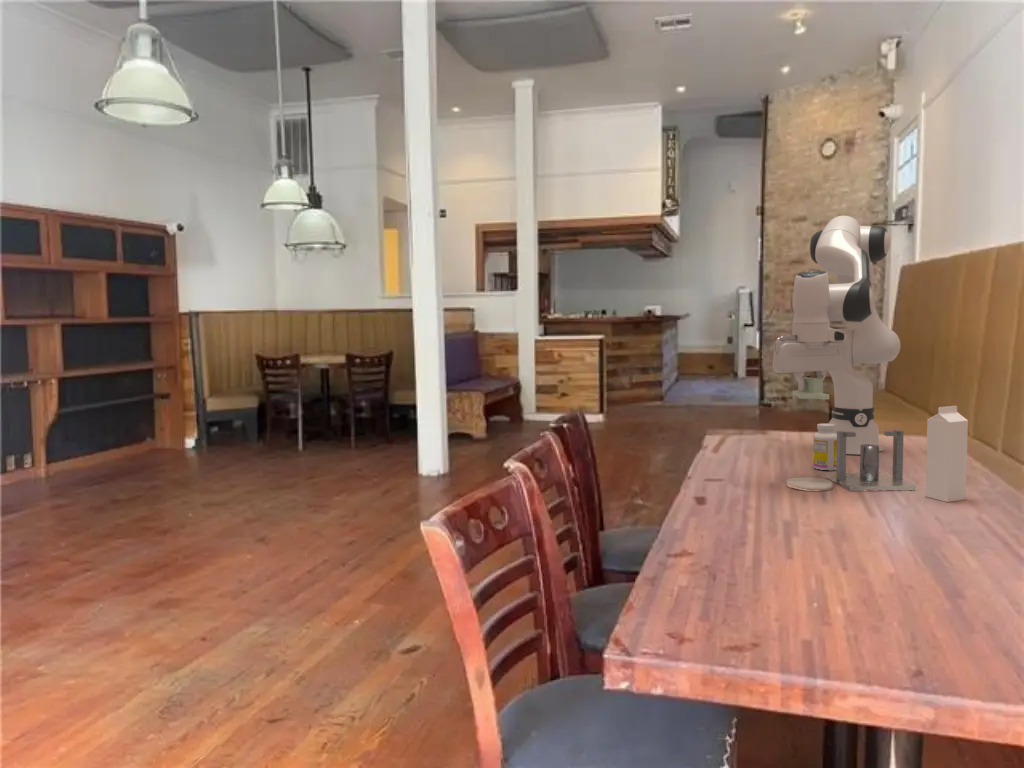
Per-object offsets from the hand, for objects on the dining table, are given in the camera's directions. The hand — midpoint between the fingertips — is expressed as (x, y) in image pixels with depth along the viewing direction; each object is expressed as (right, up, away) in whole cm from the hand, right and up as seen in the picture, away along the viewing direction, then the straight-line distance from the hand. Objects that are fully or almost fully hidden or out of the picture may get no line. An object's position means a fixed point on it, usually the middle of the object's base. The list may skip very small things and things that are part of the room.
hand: (810, 389), depth 190 cm
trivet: (+1, -25, +2) cm, 25 cm away
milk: (+27, -26, -13) cm, 40 cm away
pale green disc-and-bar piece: (0, -2, 0) cm, 2 cm away
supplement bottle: (+14, -23, +23) cm, 35 cm away
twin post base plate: (+17, -25, +4) cm, 30 cm away
